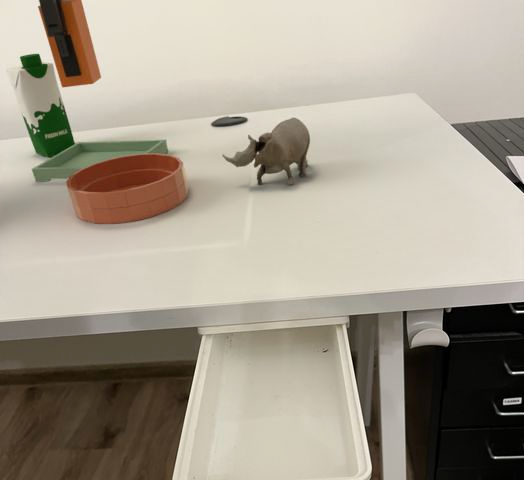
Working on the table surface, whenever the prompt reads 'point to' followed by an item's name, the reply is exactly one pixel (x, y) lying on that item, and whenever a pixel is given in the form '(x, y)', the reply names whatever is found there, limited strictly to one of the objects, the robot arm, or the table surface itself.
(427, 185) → the table surface
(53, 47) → the carton
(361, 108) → the table surface
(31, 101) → the milk carton
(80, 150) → the tray
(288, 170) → the rhinoceros figurine
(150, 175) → the bowl
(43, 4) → the robot arm
